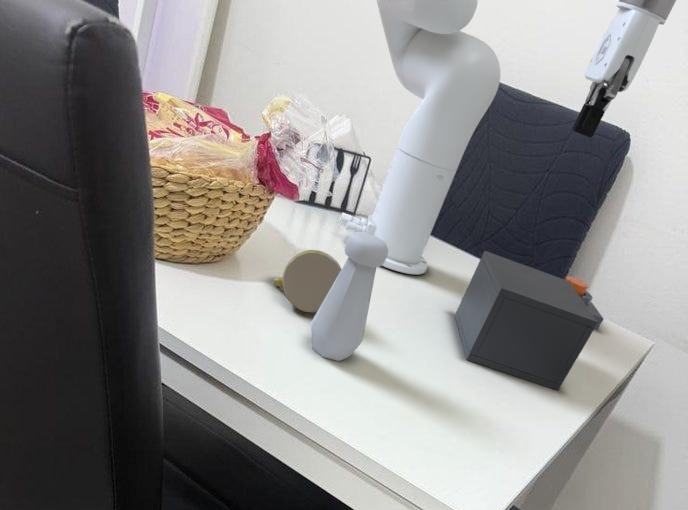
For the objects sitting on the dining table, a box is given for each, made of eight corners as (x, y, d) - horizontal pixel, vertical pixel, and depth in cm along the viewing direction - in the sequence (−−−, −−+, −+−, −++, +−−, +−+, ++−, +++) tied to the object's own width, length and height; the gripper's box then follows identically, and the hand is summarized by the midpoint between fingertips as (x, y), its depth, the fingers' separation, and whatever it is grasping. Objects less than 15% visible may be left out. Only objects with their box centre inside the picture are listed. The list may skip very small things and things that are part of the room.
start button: (564, 291, 118) (569, 281, 117) (558, 283, 121) (564, 273, 120) (585, 299, 119) (591, 289, 118) (579, 290, 122) (585, 281, 121)
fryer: (454, 315, 101) (484, 250, 96) (535, 343, 103) (569, 281, 97) (466, 359, 89) (501, 287, 83) (558, 390, 91) (598, 322, 85)
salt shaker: (316, 332, 80) (354, 221, 73) (361, 354, 80) (404, 243, 72) (296, 347, 76) (335, 229, 68) (344, 370, 75) (388, 254, 68)
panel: (537, 309, 118) (549, 287, 115) (527, 291, 125) (538, 269, 123) (597, 330, 119) (609, 309, 117) (583, 311, 126) (595, 290, 124)
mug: (333, 295, 92) (369, 247, 84) (305, 346, 87) (340, 301, 79) (285, 262, 91) (317, 210, 82) (253, 312, 86) (284, 262, 77)
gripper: (608, -6, 110) (550, 118, 120) (638, -6, 98) (571, 133, 108) (651, 12, 111) (590, 134, 121) (686, 15, 99) (615, 150, 109)
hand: (581, 133), depth 114 cm, fingers closed
